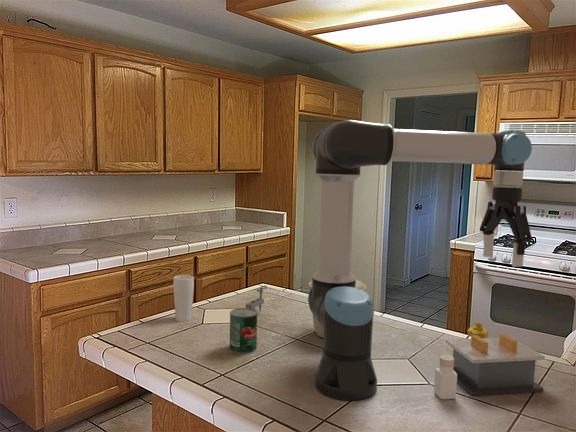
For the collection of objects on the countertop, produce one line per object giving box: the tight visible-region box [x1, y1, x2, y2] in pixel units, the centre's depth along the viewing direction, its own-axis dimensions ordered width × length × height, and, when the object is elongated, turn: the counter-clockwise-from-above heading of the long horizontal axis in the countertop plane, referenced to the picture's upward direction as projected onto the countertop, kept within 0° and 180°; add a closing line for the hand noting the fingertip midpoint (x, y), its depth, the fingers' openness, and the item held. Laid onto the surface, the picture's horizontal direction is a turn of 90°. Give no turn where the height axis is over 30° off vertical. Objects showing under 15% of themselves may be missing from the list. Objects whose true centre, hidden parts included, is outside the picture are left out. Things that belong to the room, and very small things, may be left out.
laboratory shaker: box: [445, 333, 546, 397], centre depth 121 cm, size 19×14×11 cm
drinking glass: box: [172, 274, 195, 323], centre depth 161 cm, size 7×7×15 cm
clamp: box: [245, 286, 268, 313], centre depth 168 cm, size 15×2×10 cm, turn 160°
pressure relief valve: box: [467, 321, 489, 338], centre depth 134 cm, size 6×12×10 cm, turn 51°
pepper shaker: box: [433, 354, 458, 400], centre depth 112 cm, size 4×4×10 cm
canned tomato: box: [229, 307, 258, 354], centre depth 138 cm, size 8×8×11 cm
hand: (501, 261), depth 135 cm, fingers open, 13 cm apart
